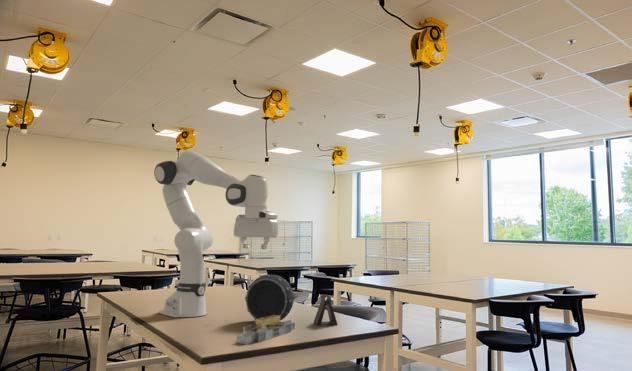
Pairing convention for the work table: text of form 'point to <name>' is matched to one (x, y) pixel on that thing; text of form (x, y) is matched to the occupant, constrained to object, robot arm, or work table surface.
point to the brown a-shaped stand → (322, 308)
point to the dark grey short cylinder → (269, 297)
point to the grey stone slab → (264, 332)
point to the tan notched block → (268, 321)
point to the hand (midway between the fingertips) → (254, 248)
